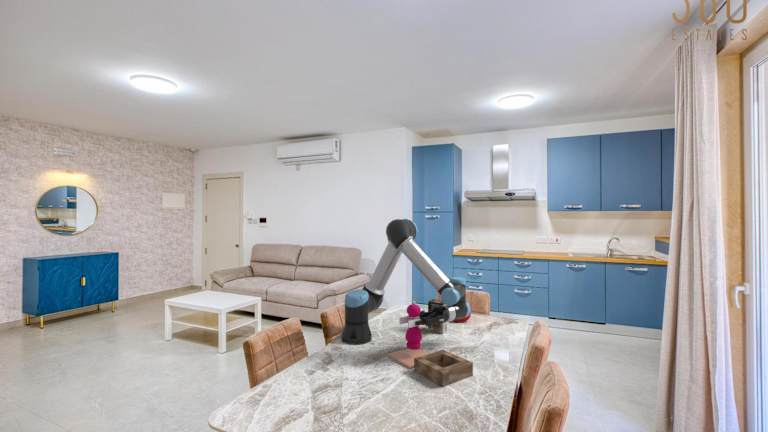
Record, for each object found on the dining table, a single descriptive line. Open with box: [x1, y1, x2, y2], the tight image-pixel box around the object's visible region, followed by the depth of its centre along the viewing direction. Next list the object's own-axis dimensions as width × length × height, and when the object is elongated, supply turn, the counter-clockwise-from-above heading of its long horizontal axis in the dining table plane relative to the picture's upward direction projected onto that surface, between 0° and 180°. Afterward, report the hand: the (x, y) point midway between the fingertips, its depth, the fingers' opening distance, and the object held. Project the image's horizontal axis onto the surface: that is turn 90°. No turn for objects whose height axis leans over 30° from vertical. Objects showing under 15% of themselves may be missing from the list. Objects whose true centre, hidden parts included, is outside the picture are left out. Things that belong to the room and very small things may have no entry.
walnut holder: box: [413, 349, 474, 388], centre depth 137 cm, size 16×16×5 cm
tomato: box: [453, 311, 472, 323], centre depth 207 cm, size 11×13×10 cm
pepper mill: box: [404, 300, 423, 350], centre depth 152 cm, size 7×7×20 cm
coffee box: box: [427, 298, 448, 335], centre depth 188 cm, size 9×6×16 cm
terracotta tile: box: [386, 347, 431, 370], centre depth 152 cm, size 16×16×1 cm
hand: (404, 322), depth 149 cm, fingers closed on pepper mill, 5 cm apart
